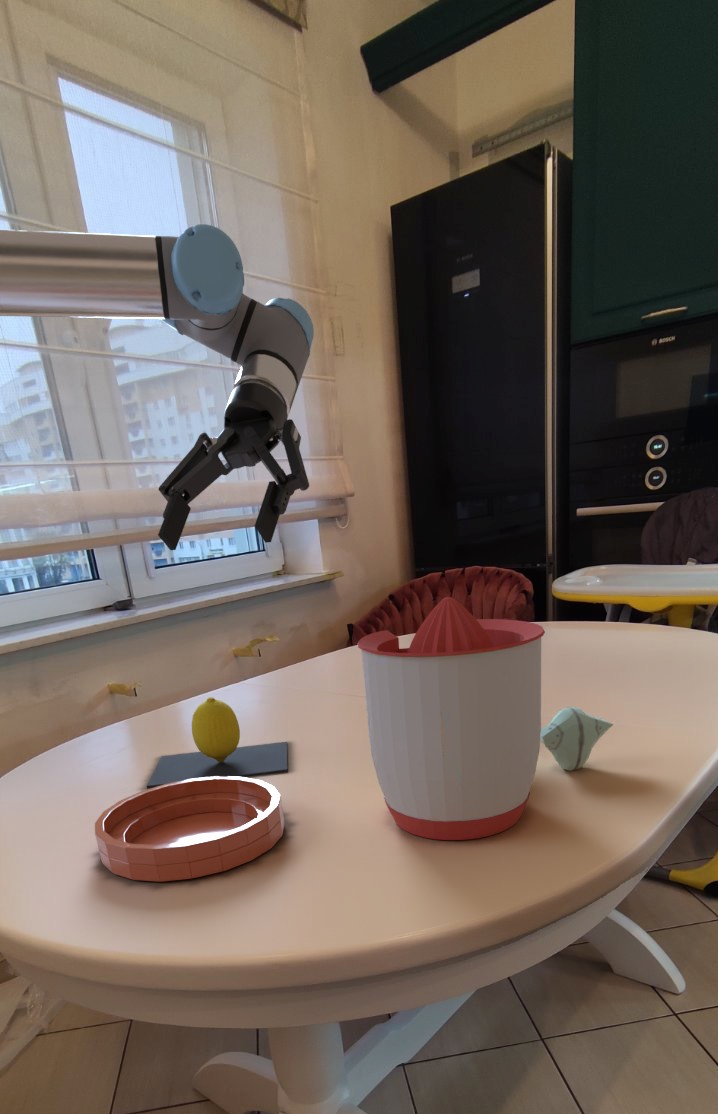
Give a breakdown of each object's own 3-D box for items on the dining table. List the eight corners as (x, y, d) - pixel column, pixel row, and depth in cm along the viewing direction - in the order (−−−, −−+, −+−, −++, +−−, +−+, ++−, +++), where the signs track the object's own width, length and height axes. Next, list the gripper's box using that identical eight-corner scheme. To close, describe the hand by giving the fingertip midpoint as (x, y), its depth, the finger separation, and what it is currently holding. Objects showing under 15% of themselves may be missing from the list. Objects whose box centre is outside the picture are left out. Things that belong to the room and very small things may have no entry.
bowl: (65, 863, 66) (56, 828, 64) (198, 798, 78) (192, 768, 77) (192, 903, 57) (184, 864, 55) (320, 823, 69) (315, 789, 68)
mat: (147, 791, 82) (146, 786, 82) (162, 760, 92) (161, 756, 92) (288, 774, 83) (287, 769, 83) (287, 746, 93) (286, 741, 93)
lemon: (247, 764, 86) (236, 698, 83) (200, 773, 84) (187, 706, 81) (241, 752, 91) (231, 689, 88) (196, 759, 89) (184, 696, 86)
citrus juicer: (480, 771, 78) (475, 579, 71) (579, 829, 63) (585, 591, 55) (344, 801, 74) (323, 599, 66) (415, 871, 58) (397, 618, 51)
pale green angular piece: (545, 783, 73) (545, 718, 71) (526, 770, 77) (526, 709, 74) (615, 769, 75) (618, 706, 72) (593, 758, 79) (595, 697, 76)
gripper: (359, 416, 91) (319, 553, 84) (195, 441, 101) (147, 565, 94) (337, 362, 84) (292, 505, 77) (164, 395, 94) (111, 524, 87)
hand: (213, 538), depth 85 cm, fingers open, 13 cm apart
